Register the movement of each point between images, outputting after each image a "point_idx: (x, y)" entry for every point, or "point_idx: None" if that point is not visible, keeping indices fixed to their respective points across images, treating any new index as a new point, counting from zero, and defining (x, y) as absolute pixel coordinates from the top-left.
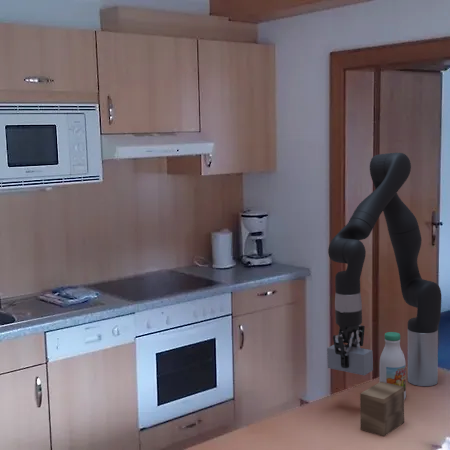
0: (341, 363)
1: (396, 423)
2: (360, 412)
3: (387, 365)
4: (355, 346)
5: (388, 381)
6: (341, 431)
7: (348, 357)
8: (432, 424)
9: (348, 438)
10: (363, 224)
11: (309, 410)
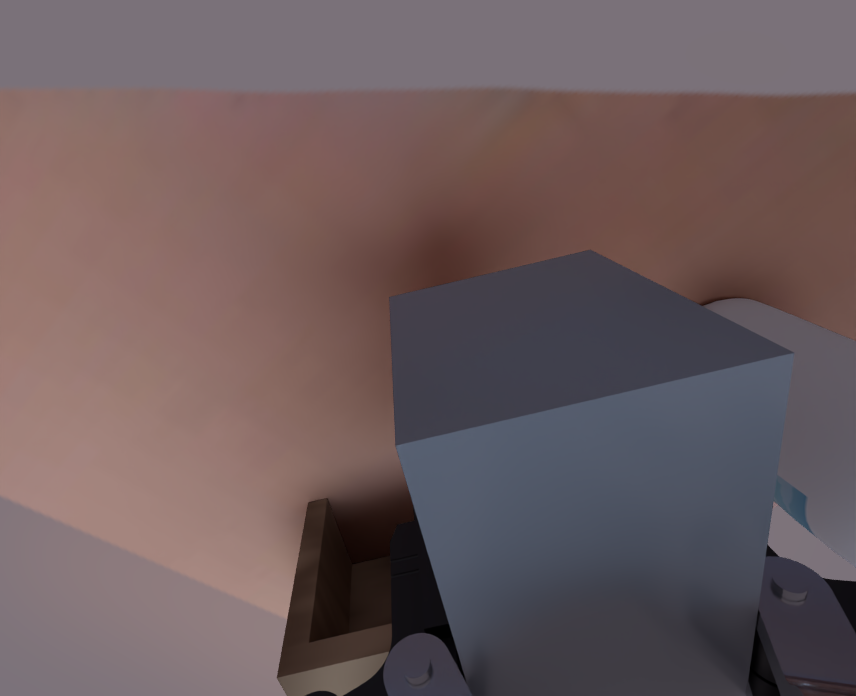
0: (393, 558)
1: None
2: (296, 569)
3: (817, 514)
4: (767, 667)
5: None
6: (223, 472)
7: None
8: None
9: (204, 528)
10: None
11: (245, 181)
